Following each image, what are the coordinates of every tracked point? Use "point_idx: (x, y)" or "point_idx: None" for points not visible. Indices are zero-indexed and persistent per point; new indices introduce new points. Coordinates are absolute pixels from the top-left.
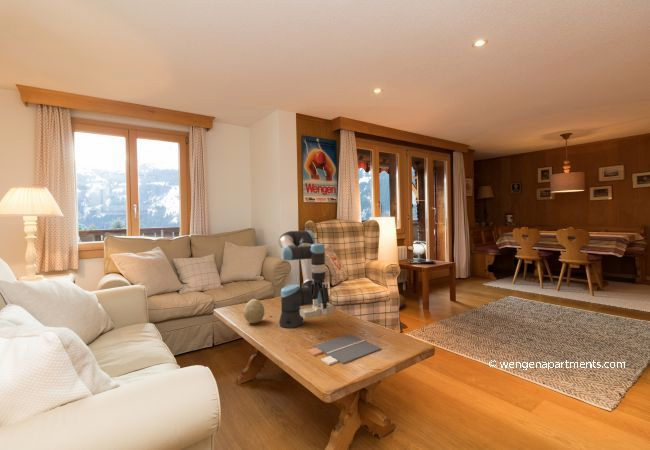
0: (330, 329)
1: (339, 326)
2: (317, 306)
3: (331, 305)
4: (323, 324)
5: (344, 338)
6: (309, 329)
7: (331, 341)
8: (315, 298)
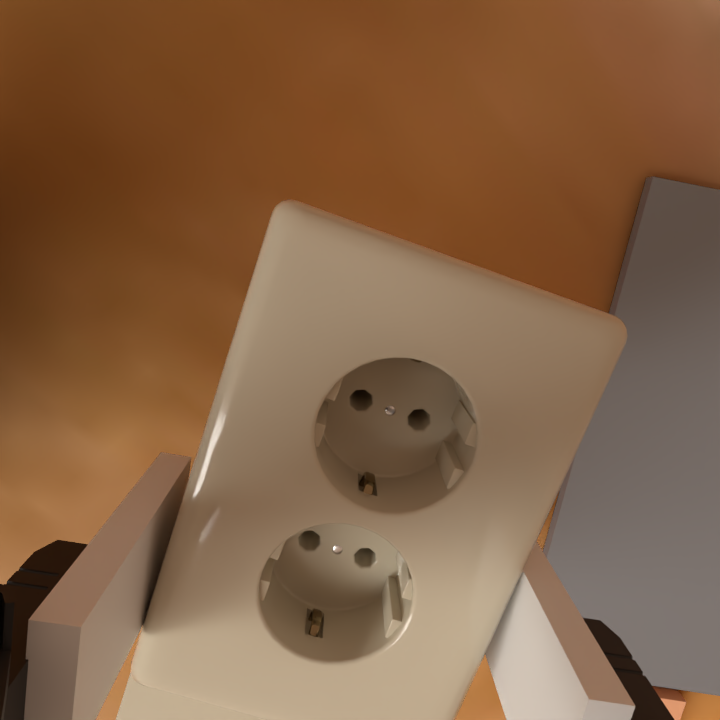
0: (316, 191)
1: (333, 13)
2: (270, 625)
3: (540, 352)
4: (96, 107)
5: (677, 333)
6: (107, 369)
7: (604, 486)
8: (17, 692)
